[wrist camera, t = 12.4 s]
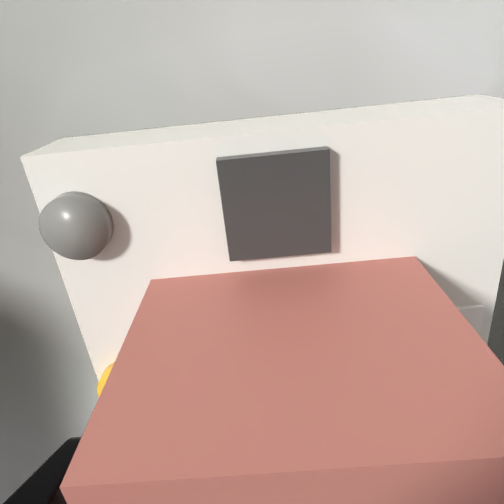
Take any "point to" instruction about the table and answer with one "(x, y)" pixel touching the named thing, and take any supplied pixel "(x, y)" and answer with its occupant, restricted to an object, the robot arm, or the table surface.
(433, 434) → the pink block
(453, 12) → the table surface
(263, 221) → the panel
